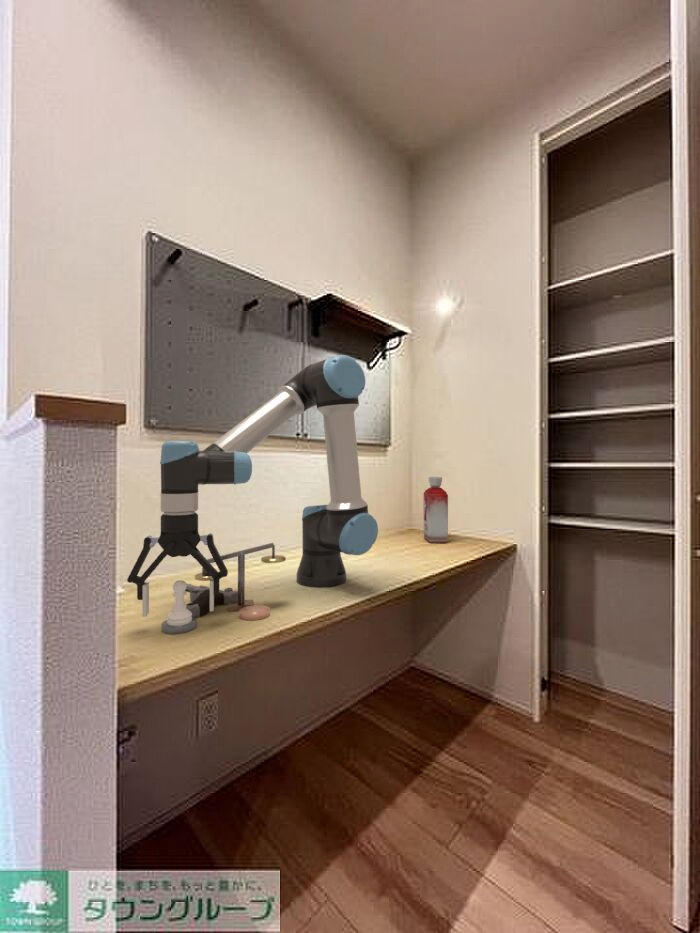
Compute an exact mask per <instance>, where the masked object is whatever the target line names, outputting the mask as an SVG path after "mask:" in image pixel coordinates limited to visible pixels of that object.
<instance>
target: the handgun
mask: <svg viewBox="0 0 700 933" xmlns="http://www.w3.org/2000/svg"><path fill="white" fill-rule="evenodd" d="M186 584H187V588H186V590H188V591H189V601H190V602H189V603H187V604H186V605H187V608H186V609H188V610H189V611H190V612H191V613H192V617H193V618H202V617H204V616H206V615H208V614H209V613H210V612H211V611H210V586H206V585H200V586H198V585H193V584H192V583H186ZM229 601H238V590H233V587H225V588H224V590H222V589H219V593H218V594H216V595H214V608H216V607H219V606H226V605H228V604H229Z"/></svg>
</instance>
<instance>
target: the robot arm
mask: <svg viewBox="0 0 700 933" xmlns="http://www.w3.org/2000/svg"><path fill="white" fill-rule="evenodd" d="M365 387H366V375H365V373H364V370H363V367H362V366H361V364H360V363H358V362H357V361H356V359H354V358H353V357H352V356H349V355H345V354H342V355H335V356H330V357H328V358H326V359H323V360H320V361H317V362H315V363H311V364H309V365H307V366H305V367H304V368H302V369H301V370H300V371H298V372H297V374H295V375H294V376H293V377H292V378H290V379H289V380H288V381H287V382H285V383H284V384H282V385H281V386H280V387H279V389H278V393H276V395H274V396H273V397H272V398H270V399H269V400H268V401H266V402H265V403H264V404H263V405H261V406H260V407H258V409H256V410H255V411H253V412H252V413H251V414H249V415H248V416H247V417H246V418H244V419H243V420H241V421H240V422H239V423H237V424H236V425H235V426H233V427H232V428H231V429H230V430H228V431H226V432H225V433H224V434H223V435H221V436H220V437H219V438H217V439H216V440H215V441H214V442H212V443H211V444H210V445H208V446H207V447H206V448H205V449H203V450H200V448H199V443H198V442H196V441H191V440H190V441H188V440H168V441H164V442H163V443H162V445H161V451H160V452H161V453H160V462H159V464H160V512H161V513H163V514H161V516H160V535H159V536H158V537H156V536H151V535H147V536H145V538H144V539H143V548H141V549H142V550H141V551H140V553H139V555H138V558H137V559H136V561H135V564H134V565H133V567H132V569H131V571H130V573H129V574H128V576H127V580H126V581H127V583H133V584H135V585H136V586H137V587H136V598H137V600H138V601H142V618H143V617H145V618H146V617H148V615H149V613H150V581H147V579H148V578H149V577H150V575H152V573H153V572H154V571H155V570H156V569H157V568H158V566H159V565H160V563H162V561H163V560H164V559H165V558H166V556H169V557H171V558H176V557H182V558H183V557H188V556H191V557H192V558H193V559H195V561H197V562H198V564H199V565H200V566H201V567H203V568H204V569H205V570H206V571H207V572H208V574H209V575H210V576H211V577H212V578H210V580H209V587H210V612H214V610H215V607H214V595H216V594H218V593H219V590H220V580H221V579H222V578H225V577H227V576H228V573H229V571H228V568H227V567H226V564H225V562H224V560H222V558H221V556H222V555H221V554H220V552H219V551H218V549H217V547H216V544H215V542H214V535H213V534H212V533H208V534H205V535H200V534H199V514H198V513H197V511H198V510H199V485H238V484H246V483H248V482H249V480H251V476H252V472H253V464H252V459H251V456H250V455H249V454H248V453H249V452H251V451H252V450H253V449H254V448H256V446H258V445H259V444H260V443H262V442H263V441H264V440H265V439H267V438H268V437H269V436H270V435H271V434H273V433H274V432H276V430H278V429H279V428H281V427H282V426H283V425H284V424H285V423H287V422H288V421H289V420H290V419H291V418H292V417H294V416H295V415H297V416H299V415H301V414H303V413H304V412H306V411H307V410H309V409H311V408H313V407H315V406H316V410H317V411H318V412H319V413H320V414H321V415H322V417H323V418H322V419H323V428H324V430H323V431H324V440H325V442H324V443H325V449H326V463H327V464H326V465H327V472H328V484H329V496H330V502H329V503H328V504H319V505H308V506H305V507H304V508H303V509H302V518H301V522H302V531H301V532H302V555H301V556H302V557H301V560H300V562H299V565H298V568H297V571H296V582H297V583H298V584H299V585H303V586H307V587H316V588H317V587H318V588H321V587H322V588H325V587H334V586H338V585H342V584H344V583H345V582H346V581H347V571H346V568H345V565H344V562H343V559H342V555H341V553H343V554H345V555H351V556H362V555H364V554H366V553H367V552H369V551H370V550H371V548H372V547H373V545H374V544H375V543H376V541H377V538H378V533H379V525H378V522H377V519H375V518H374V516H373V515H371V514H370V513H369V509H368V508H369V506H368V502H367V501H365V500H364V499H363V498H362V490H361V478H360V466H359V454H358V444H357V443H358V442H357V431H356V421H355V411H356V410H357V409H358V408H359V406H360V404H359V396H360V395H361V394H362V393H363V390H365ZM200 542H202V543H203V544H204V546H207V548H208V551H209V553H210V554H211V556H212V557H211V558H213V559H214V560H215V562H214V563H215V564H216V566H217V568H218V570H219V571H217V569H216V568H215V567H214V566H213V565H212V563H209V562H208V560H207V559H208V558H206V557H205V556H204V555H203V553H202V552H201V551H200V550H199V549H198V548H197V546H198V544H199V543H200ZM156 544H158V545H159V546H160V547H161V548H162V549H163V550H162V551H161V552H160V553H159V555H158V556H157V557H156V558H155V559H154V560H153V561H152V562H151V564H150V565H149V567H147V569H146V570H145V571H144V572H143V573H142V575H141V576H139V573H140V571H141V569H142V567H143V564H144V562H145V561H146V559H147V557H148V555H149V553H150V551H151V549H152V548H154V547H155V546H156Z"/></svg>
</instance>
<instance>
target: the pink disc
mask: <svg viewBox="0 0 700 933" xmlns="http://www.w3.org/2000/svg"><path fill="white" fill-rule="evenodd" d="M270 615H271V609H270V607H269V606H266V605H261V604H257V605H256V604H254V605H252V606H246V607H243V608H241V609H240V610H239V611H238V616H239V619H241V620H244V621H259V620H261V621H262V620H264V619H266V618H269V616H270Z"/></svg>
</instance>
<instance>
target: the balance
mask: <svg viewBox="0 0 700 933" xmlns="http://www.w3.org/2000/svg"><path fill="white" fill-rule="evenodd" d="M275 546H276V545H275V543H274V542H270V543H267V544H263V545H259V546H254V547H250V548H246V549H242V550H238V551H235V552H230V553H226V554H222V555H220V556H221V558H222V560H223V561H225V560H229V559H232V558H237V591H238V601H229V604H228V607H227V608H228V609H227V610H228V612H229V613H230V612H239V610H240V609H241V608H243V607H246V606H252V605H255V602H254V599H245V594H246V592H245V591H246V590H245V588H246V586H245V584H246V583H245V580H246V579H245V575H246V574H245V568H246V567H245V566H246V565H245V564H246V563H245V562H246V561H245V560H246V557H245V555H249V554H253V553H256V552H260V551H264V550H267V549H271V551H272V552H271V555H266V556H262V557H261V559H260V560H261V561H260V562H262V563H264V564H265V563H267V564H276V563H277V564H278V563H282V562H285V561H286V557H287V556H284V555H277V554H276V555H275V553H276V551H275V550H276V549H275ZM206 559H207V560H208V562H209V563H210V564H214V563H216V562H215V560H214V559H213V557H210V558H206ZM201 567H202V566H201ZM210 578H212V577H211V576H210V575H209V574H208V572H207V571H206V570H205V569H204V568H203V567H202V568H201V572H200V573H199V572H198V573H197V574H195V575H194V580H195V581H196V580H197V581H201V582H202V581H203V582H205V581H209V582H210Z"/></svg>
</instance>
